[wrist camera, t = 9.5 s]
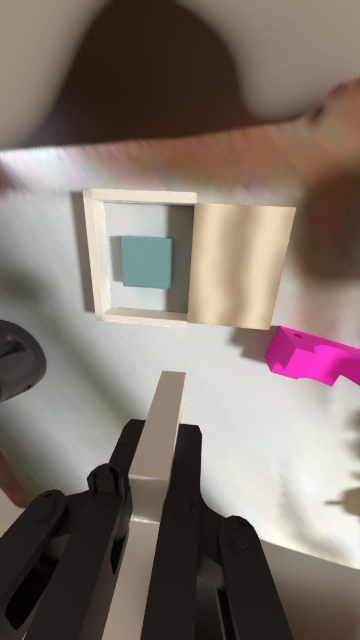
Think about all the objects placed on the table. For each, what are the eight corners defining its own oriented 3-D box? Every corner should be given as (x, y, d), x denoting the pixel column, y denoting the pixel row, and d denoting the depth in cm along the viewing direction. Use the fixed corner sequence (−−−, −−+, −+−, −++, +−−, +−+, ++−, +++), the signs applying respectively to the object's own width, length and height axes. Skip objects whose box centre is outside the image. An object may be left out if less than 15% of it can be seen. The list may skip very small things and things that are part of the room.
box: (105, 312, 39) (96, 320, 36) (94, 192, 32) (82, 188, 29) (188, 320, 38) (186, 328, 35) (197, 196, 31) (195, 192, 28)
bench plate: (189, 313, 38) (187, 322, 34) (196, 206, 31) (194, 203, 28) (263, 319, 36) (269, 329, 33) (285, 209, 30) (296, 207, 27)
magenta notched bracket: (264, 356, 39) (276, 384, 32) (279, 325, 37) (296, 348, 30) (347, 381, 39) (376, 414, 32) (368, 351, 37) (405, 380, 30)
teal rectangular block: (129, 281, 37) (123, 286, 34) (127, 236, 34) (120, 237, 32) (171, 284, 36) (168, 289, 34) (173, 238, 34) (169, 239, 31)
